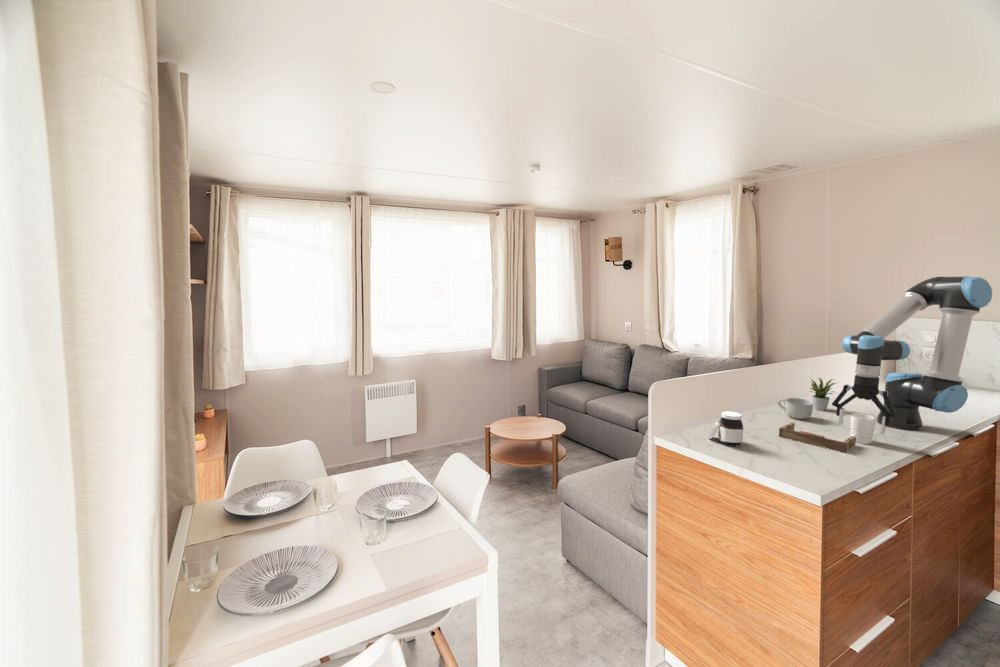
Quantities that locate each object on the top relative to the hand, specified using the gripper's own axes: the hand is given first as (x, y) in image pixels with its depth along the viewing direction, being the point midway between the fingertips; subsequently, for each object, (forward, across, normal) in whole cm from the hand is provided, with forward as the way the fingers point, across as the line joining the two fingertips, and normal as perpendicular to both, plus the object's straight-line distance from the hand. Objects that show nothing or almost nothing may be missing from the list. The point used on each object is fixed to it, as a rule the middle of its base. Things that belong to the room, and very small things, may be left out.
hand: (861, 428), depth 184 cm
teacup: (+5, -29, +16) cm, 33 cm away
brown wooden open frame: (+5, -11, -12) cm, 17 cm away
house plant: (+5, -25, +40) cm, 47 cm away
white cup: (+5, 0, 0) cm, 5 cm away
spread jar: (+6, -33, -42) cm, 54 cm away
